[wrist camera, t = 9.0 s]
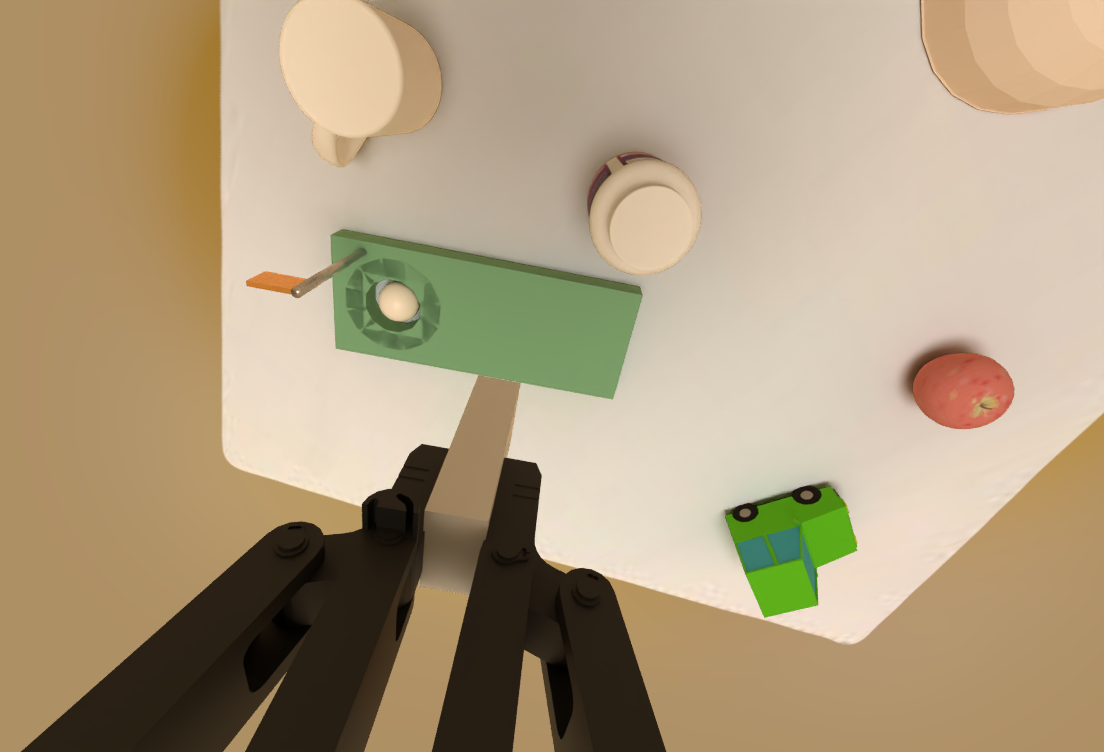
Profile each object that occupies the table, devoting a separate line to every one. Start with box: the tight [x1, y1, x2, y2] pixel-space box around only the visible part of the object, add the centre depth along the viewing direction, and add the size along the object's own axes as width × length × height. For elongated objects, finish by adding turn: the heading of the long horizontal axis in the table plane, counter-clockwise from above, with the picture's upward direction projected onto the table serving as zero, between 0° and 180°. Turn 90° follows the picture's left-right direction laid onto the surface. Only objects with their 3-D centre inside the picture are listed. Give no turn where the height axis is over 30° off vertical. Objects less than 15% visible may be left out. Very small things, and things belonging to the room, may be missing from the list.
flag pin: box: [246, 247, 367, 298], centre depth 40 cm, size 1×4×12 cm, turn 80°
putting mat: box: [331, 230, 642, 399], centre depth 49 cm, size 12×30×2 cm, turn 80°
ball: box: [378, 281, 420, 322], centre depth 48 cm, size 4×4×4 cm
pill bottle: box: [587, 152, 701, 275], centre depth 38 cm, size 8×8×14 cm
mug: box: [279, 0, 442, 167], centre depth 37 cm, size 8×10×12 cm
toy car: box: [725, 486, 857, 618], centre depth 57 cm, size 10×13×10 cm
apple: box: [913, 353, 1014, 429], centre depth 47 cm, size 7×7×8 cm
